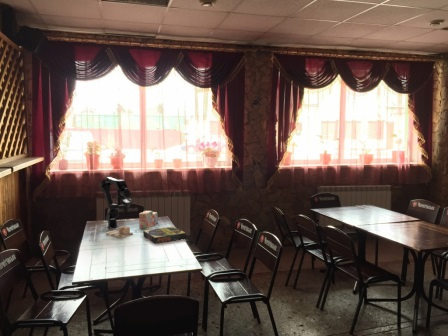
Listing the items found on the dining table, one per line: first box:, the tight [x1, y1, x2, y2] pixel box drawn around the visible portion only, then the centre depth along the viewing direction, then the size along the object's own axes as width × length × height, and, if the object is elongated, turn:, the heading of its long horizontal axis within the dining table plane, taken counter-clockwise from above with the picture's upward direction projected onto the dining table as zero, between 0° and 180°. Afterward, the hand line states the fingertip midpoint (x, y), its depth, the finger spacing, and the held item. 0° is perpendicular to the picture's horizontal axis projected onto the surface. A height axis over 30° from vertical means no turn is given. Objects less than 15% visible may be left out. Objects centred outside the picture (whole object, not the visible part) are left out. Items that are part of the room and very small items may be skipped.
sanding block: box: [118, 225, 131, 235], centre depth 304 cm, size 7×4×5 cm, turn 60°
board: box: [105, 229, 134, 239], centre depth 307 cm, size 18×10×2 cm, turn 60°
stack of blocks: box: [138, 210, 159, 230], centre depth 337 cm, size 21×6×12 cm, turn 164°
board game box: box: [142, 225, 187, 245], centre depth 297 cm, size 24×24×5 cm
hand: (121, 215), depth 320 cm, fingers open, 9 cm apart
